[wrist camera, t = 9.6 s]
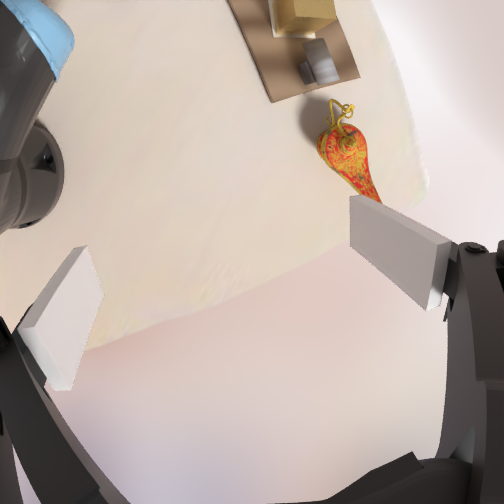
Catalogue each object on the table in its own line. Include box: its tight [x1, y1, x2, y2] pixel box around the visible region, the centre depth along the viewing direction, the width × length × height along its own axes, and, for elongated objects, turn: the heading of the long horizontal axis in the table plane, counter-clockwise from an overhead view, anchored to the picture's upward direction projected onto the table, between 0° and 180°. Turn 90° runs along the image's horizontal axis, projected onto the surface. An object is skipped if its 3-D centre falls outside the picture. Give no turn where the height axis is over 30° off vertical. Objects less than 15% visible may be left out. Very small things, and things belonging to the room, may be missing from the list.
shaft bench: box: [228, 0, 361, 103], centre depth 32 cm, size 22×14×6 cm, turn 21°
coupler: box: [272, 0, 337, 35], centre depth 29 cm, size 5×5×8 cm
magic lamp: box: [317, 99, 382, 204], centre depth 39 cm, size 7×18×11 cm, turn 30°
